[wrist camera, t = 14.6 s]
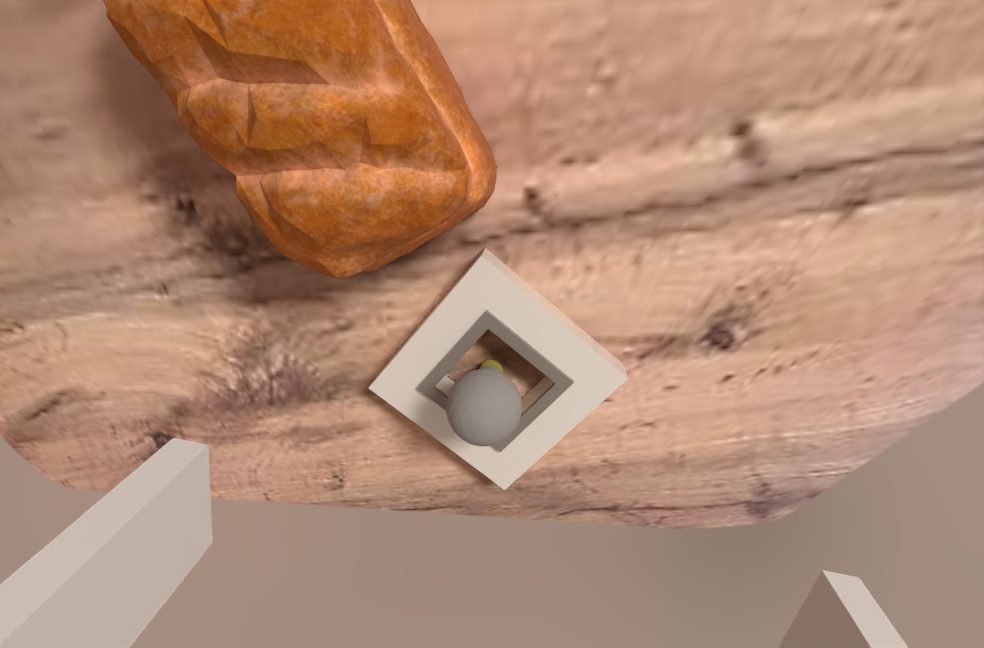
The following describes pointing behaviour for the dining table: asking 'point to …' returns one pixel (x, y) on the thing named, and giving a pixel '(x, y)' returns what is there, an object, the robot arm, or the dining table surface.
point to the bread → (320, 119)
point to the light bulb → (484, 405)
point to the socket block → (525, 328)
